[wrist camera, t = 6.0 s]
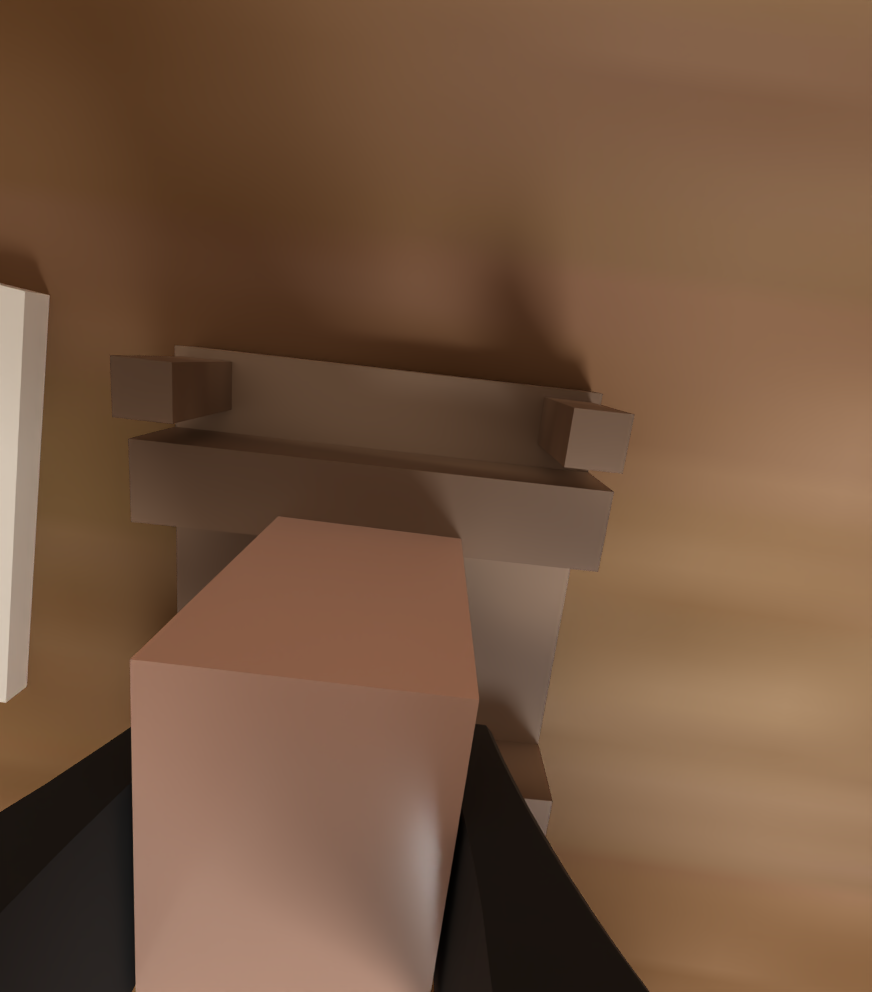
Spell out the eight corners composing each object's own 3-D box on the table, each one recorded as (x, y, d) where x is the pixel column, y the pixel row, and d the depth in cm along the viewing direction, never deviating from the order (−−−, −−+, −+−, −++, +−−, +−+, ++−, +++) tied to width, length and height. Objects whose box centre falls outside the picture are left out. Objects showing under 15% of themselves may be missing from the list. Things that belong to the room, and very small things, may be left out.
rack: (514, 824, 15) (535, 954, 12) (192, 792, 15) (122, 915, 12) (592, 391, 12) (649, 403, 9) (192, 346, 12) (96, 341, 9)
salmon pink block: (403, 936, 13) (380, 1292, 8) (255, 921, 13) (139, 1271, 8) (461, 538, 10) (479, 699, 5) (278, 516, 10) (130, 659, 5)
